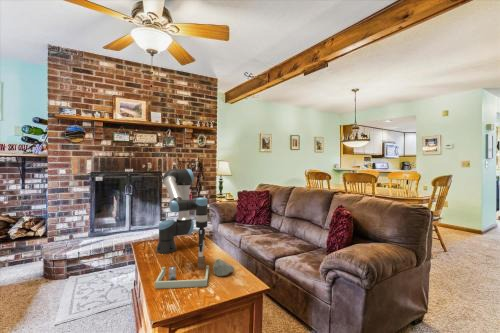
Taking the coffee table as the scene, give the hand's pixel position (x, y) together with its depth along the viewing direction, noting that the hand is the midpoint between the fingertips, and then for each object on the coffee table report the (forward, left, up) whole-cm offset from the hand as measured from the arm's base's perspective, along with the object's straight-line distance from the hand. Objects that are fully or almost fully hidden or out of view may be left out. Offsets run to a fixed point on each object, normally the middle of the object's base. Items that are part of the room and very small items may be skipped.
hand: (201, 252), depth 166 cm
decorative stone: (+11, +15, -10) cm, 21 cm away
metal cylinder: (+15, -16, -10) cm, 24 cm away
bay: (+17, -9, -10) cm, 21 cm away
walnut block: (0, 0, -10) cm, 10 cm away
